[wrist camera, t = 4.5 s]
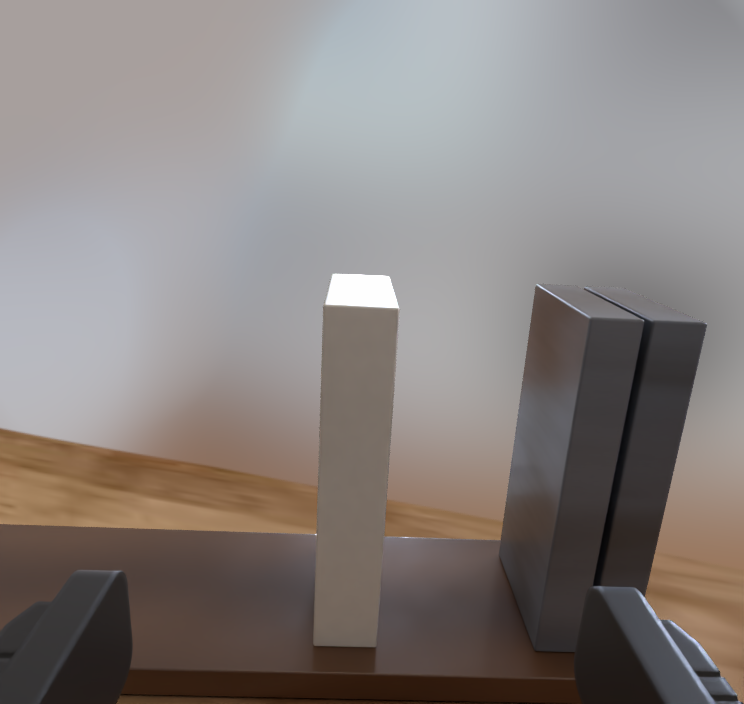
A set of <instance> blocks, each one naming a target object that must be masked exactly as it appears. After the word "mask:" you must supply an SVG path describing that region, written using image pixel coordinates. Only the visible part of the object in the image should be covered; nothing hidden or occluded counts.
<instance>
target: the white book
mask: <svg viewBox="0 0 744 704" xmlns="http://www.w3.org/2000/svg"><path fill="white" fill-rule="evenodd" d="M399 313H400V310H399V307H398V303H397V300H396V297H395V293H394V290H393V287H392V284H391V281H390V277H388V276H370V275H350V274H332V275H331V279H330V283H329V287H328V291H327V294H326V298H325V302H324V307H323V333H322V334H323V335H322V336H323V337H322V368H321V400H320V434H319V467H318V468H319V469H318V501H317V534H316V568H315V601H314V635H313V644H314V646H336V647H376V645H377V631H378V616H379V602H380V588H381V573H382V559H383V544H384V530H385V515H386V501H387V486H388V472H389V456H390V443H391V428H392V413H393V398H394V384H395V371H396V355H397V341H398V327H399Z"/></svg>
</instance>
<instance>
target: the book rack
mask: <svg viewBox="0 0 744 704" xmlns="http://www.w3.org/2000/svg"><path fill="white" fill-rule="evenodd" d="M706 327H707V324H706V323H705V322H703V321H700V320H698V319H696V318H693V317H691V316H689V315H686V314H684V313H681V312H679V311H677V310H675V309H672V308H670V307H668V306H665V305H663V304H661V303H658V302H656V301H653V300H651V299H649V298H647V297H644V296H642V295H640V294H637V293H635V292H633V291H630V290H628V289H626V288H611V287H592V286H586V287H584V289H582V288H580V287H578V286H571V285H551V284H537V285H536V287H535V295H534V302H533V309H532V317H531V324H530V331H529V339H528V346H527V353H526V360H525V367H524V375H523V382H522V389H521V390H522V391H521V397H520V404H519V411H518V419H517V426H516V433H515V440H514V448H513V455H512V462H511V469H510V477H509V484H508V491H507V499H506V507H505V513H504V520H503V528H502V535H501V540H473V539H442V538H412V537H384V544H383V559H382V573H381V588H380V602H379V616H378V631H377V645H376V647H336V646H314V644H313V635H314V601H315V568H316V534H288V533H257V532H226V531H195V530H165V529H134V528H103V527H72V526H41V525H10V524H0V631H1V630H2V629H3V627H4V626H5V625H6V624H7V623H8V622H10V621H11V620H13V619H14V618H15V617H17V616H18V615H19V614H21V613H22V612H23V611H25V610H26V609H27V608H29V607H30V606H31V605H33V604H34V603H36V602H37V601H45V602H52V601H53V599H54V598H55V597H56V595H57V594H58V592H59V591H60V590H61V588H62V587H63V585H64V584H65V583H66V581H67V580H68V579H69V577H70V576H71V575H72V573H74V572H75V571H77V570H105V571H123V572H124V573H125V574H126V577H127V582H128V593H129V605H130V617H131V629H132V640H133V650H132V659H131V665H130V669H129V673H128V677H127V680H126V683H125V685H124V687H123V690H122V692H121V694H145V695H191V696H237V697H284V698H330V699H376V700H422V701H468V702H514V703H560V704H582V701H581V699H580V696H579V694H578V690H577V686H576V681H575V675H574V655H575V649H576V644H577V639H578V633H579V628H580V623H581V618H582V612H583V607H584V602H585V597H586V593H587V591H588V589H589V588H590V587H592V586H605V587H634V588H636V589H638V590H639V591H640V592H641V593H642V595H643V596H644V598H645V594H646V589H647V585H648V581H649V576H650V572H651V567H652V563H653V559H654V554H655V550H656V545H657V541H658V537H659V532H660V528H661V524H662V519H663V515H664V510H665V506H666V502H667V498H668V493H669V488H670V484H671V480H672V476H673V471H674V467H675V463H676V458H677V454H678V449H679V445H680V441H681V436H682V432H683V428H684V423H685V419H686V414H687V410H688V406H689V401H690V396H691V392H692V388H693V384H694V379H695V375H696V370H697V366H698V362H699V357H700V353H701V349H702V344H703V340H704V336H705V331H706Z"/></svg>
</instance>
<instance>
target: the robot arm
mask: <svg viewBox="0 0 744 704" xmlns="http://www.w3.org/2000/svg"><path fill="white" fill-rule="evenodd" d="M132 650H133V640H132V629H131V617H130V605H129V593H128V582H127V577H126V574H125V573H124V572H123V571H105V570H77V571H75V572H74V573H72V575H71V576H70V577H69V579H68V580H67V581H66V583H65V584H64V585H63V587H62V588H61V590H60V591H59V592H58V594H57V595H56V597H55V598H54V599H53V601H52V602H45V601H37V602H36V603H34V604H33V605H31V606H30V607H29V608H27V609H26V610H25V611H23V612H22V613H21V614H19V615H18V616H17V617H15V618H14V619H13V620H11V621H10V622H8V623H7V624H6V625H5V626H4V627H3V629H2V630H1V631H0V704H116V703H117V700H118V698H119V696H120V694H121V692H122V690H123V687H124V685H125V683H126V680H127V677H128V673H129V669H130V665H131V659H132ZM574 675H575V681H576V686H577V690H578V694H579V696H580V699H581V701H582V704H743V703H742V702H739V701H738V699H737V695H736V693H735V692H734V690H733V689H732V688H731V686H730V685H729V683H728V682H727V681H726V679H725V678H721V676H720V671H719V670H718V668H717V667H716V666H715V664H714V663H713V661H712V660H711V659H710V657H709V656H708V655H707V653H706V652H705V650H704V649H703V648H702V646H701V645H700V644H699V643H698V642H697V641H696V640H694V639H693V638H692V637H691V636H690V635H688V634H687V633H686V632H685V631H683V630H682V629H681V628H680V627H679V626H677V625H676V624H675V623H674V622H673V621H671V620H659V618H658V617H657V615H656V614H655V612H654V611H653V609H652V608H651V606H650V605H649V603H648V602H647V601H646V599H645V598H644V596H643V595H642V593H641V592H640V591H639V590H638V589H636V588H634V587H605V586H592V587H590V588H589V589H588V591H587V593H586V597H585V602H584V607H583V612H582V618H581V623H580V628H579V633H578V639H577V644H576V649H575V655H574Z"/></svg>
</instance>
